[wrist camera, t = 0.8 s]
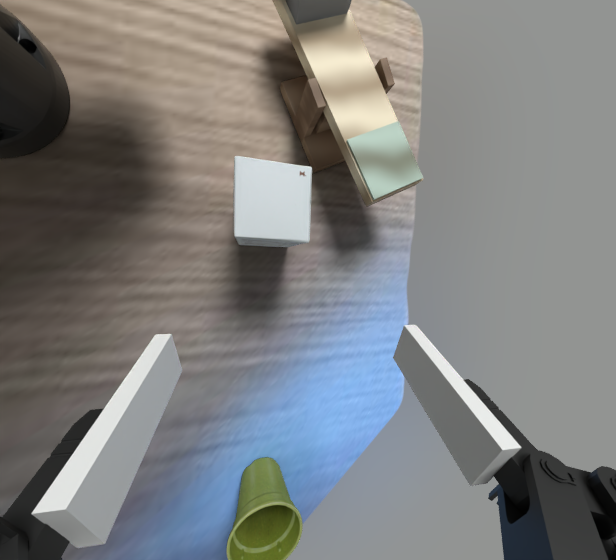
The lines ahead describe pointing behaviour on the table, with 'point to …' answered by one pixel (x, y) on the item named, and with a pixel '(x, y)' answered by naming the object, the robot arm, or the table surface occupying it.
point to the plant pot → (264, 516)
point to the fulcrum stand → (319, 117)
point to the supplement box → (271, 203)
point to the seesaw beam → (351, 96)
